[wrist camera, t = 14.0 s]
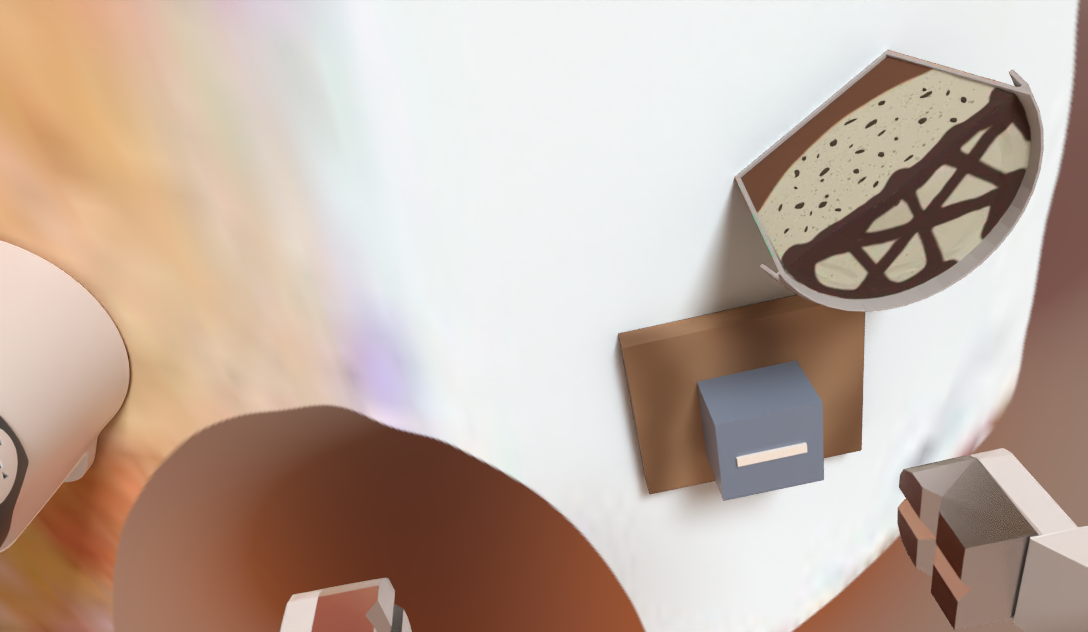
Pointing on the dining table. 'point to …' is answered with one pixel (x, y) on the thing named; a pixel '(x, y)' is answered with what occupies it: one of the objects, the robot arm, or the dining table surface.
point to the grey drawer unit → (762, 430)
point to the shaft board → (732, 347)
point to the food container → (896, 184)
